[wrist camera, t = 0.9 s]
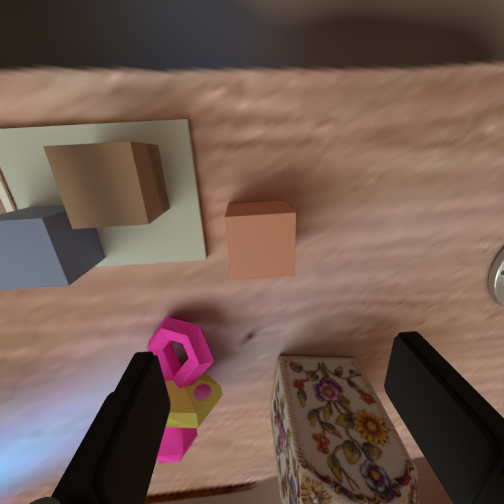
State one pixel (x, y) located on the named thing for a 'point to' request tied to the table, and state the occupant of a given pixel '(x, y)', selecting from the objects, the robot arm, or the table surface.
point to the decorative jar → (336, 437)
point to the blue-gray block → (44, 248)
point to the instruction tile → (5, 198)
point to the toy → (184, 385)
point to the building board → (118, 237)
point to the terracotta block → (261, 239)
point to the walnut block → (109, 183)
